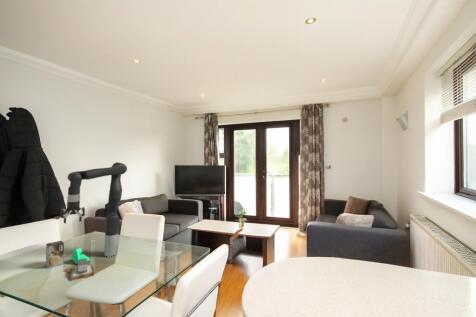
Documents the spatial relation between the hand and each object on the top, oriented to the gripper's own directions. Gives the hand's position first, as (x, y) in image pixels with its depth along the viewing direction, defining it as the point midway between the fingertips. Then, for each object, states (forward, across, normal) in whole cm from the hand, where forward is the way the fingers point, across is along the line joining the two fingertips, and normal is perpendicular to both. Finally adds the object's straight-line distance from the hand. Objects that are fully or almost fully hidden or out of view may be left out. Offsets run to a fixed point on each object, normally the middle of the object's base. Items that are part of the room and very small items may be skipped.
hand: (72, 222), depth 172 cm
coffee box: (+32, +9, -7) cm, 34 cm away
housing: (+30, -6, +15) cm, 34 cm away
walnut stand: (+32, -6, +15) cm, 36 cm away
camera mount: (+32, -6, -5) cm, 34 cm away
